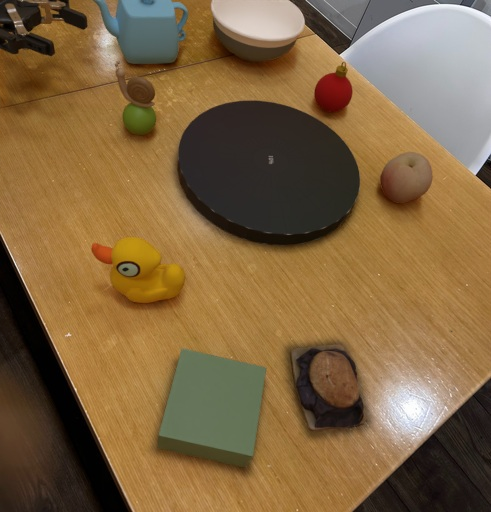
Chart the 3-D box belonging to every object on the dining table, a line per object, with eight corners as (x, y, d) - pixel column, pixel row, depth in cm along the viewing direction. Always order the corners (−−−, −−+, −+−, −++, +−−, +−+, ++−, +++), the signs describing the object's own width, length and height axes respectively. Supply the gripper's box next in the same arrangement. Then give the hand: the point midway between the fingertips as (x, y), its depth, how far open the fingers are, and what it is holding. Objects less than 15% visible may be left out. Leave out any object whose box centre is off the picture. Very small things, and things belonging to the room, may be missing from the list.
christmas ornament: (350, 120, 95) (369, 74, 87) (315, 120, 93) (332, 74, 85) (338, 96, 99) (356, 51, 91) (305, 96, 97) (320, 49, 89)
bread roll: (285, 350, 64) (292, 337, 61) (345, 345, 66) (355, 333, 63) (304, 433, 58) (312, 423, 55) (369, 425, 60) (381, 415, 57)
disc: (379, 239, 78) (387, 227, 76) (191, 252, 71) (193, 239, 68) (324, 114, 95) (329, 101, 92) (166, 113, 87) (167, 99, 85)
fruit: (368, 176, 87) (386, 141, 80) (410, 178, 88) (431, 144, 82) (380, 211, 82) (400, 177, 76) (424, 213, 84) (447, 179, 77)
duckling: (91, 302, 64) (84, 257, 56) (101, 267, 67) (96, 220, 59) (179, 314, 65) (184, 272, 57) (185, 280, 68) (191, 236, 60)
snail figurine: (123, 115, 85) (121, 51, 75) (160, 125, 85) (162, 63, 75) (112, 135, 82) (108, 71, 72) (150, 145, 82) (151, 83, 72)
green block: (156, 448, 55) (158, 435, 51) (178, 365, 61) (181, 347, 57) (244, 467, 55) (253, 456, 51) (258, 383, 61) (266, 367, 57)
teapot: (87, 32, 97) (82, -28, 88) (178, 32, 102) (182, -25, 93) (96, 71, 90) (91, 10, 81) (192, 69, 96) (197, 11, 87)
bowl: (271, 22, 111) (280, -16, 104) (310, 72, 102) (322, 35, 95) (193, 28, 104) (196, -12, 97) (227, 82, 95) (233, 43, 89)
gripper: (-67, -8, 68) (36, 34, 67) (0, -46, 77) (94, -9, 75) (-50, 42, 74) (45, 81, 73) (11, 2, 83) (97, 36, 81)
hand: (70, 35), depth 74 cm, fingers open, 8 cm apart
